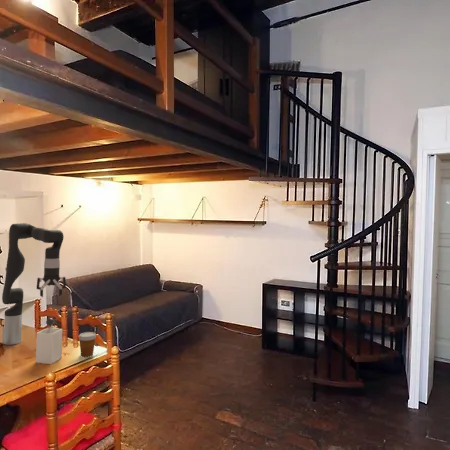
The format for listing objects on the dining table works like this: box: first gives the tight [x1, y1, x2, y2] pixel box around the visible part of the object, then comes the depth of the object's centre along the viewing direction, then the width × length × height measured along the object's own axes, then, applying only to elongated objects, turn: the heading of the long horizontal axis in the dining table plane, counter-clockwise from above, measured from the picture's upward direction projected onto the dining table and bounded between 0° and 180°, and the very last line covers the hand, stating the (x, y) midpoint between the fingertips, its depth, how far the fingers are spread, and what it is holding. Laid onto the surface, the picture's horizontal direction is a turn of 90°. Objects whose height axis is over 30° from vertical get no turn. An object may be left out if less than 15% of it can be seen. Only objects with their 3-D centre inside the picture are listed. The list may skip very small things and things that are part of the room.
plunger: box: [45, 317, 55, 334], centre depth 193 cm, size 7×7×17 cm
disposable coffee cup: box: [78, 331, 97, 358], centre depth 202 cm, size 10×10×12 cm
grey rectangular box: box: [35, 327, 63, 365], centre depth 195 cm, size 9×12×16 cm
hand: (51, 296), depth 193 cm, fingers open, 8 cm apart
